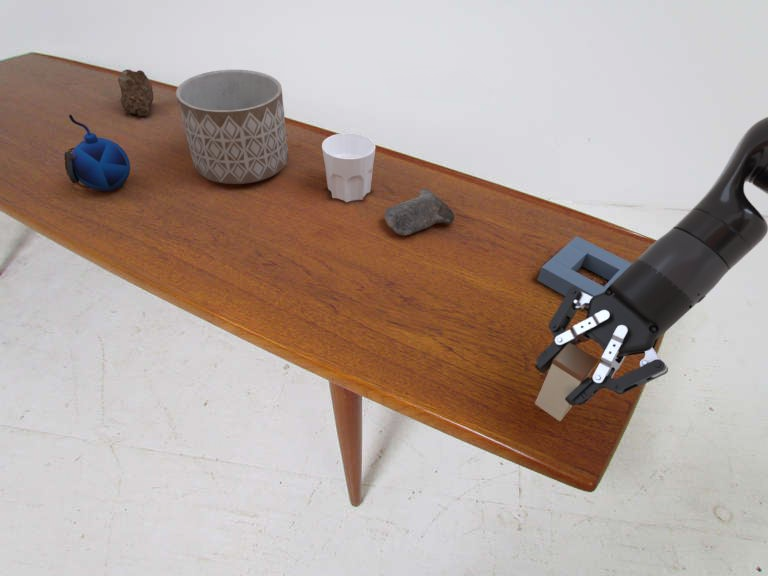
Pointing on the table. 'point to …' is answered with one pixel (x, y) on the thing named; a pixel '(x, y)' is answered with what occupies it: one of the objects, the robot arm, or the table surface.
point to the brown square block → (564, 379)
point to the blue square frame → (582, 253)
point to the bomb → (97, 162)
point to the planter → (234, 125)
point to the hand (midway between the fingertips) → (554, 385)
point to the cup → (348, 165)
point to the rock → (135, 92)
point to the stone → (418, 213)
